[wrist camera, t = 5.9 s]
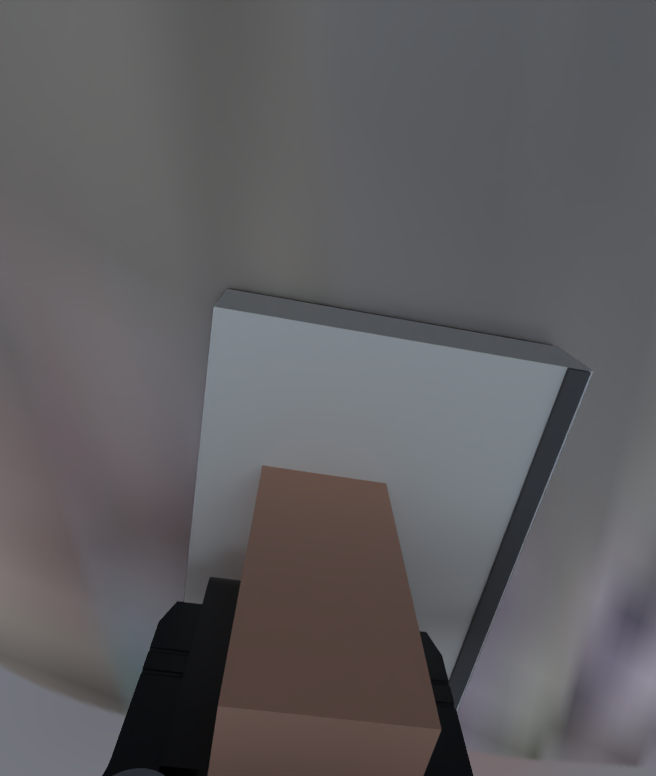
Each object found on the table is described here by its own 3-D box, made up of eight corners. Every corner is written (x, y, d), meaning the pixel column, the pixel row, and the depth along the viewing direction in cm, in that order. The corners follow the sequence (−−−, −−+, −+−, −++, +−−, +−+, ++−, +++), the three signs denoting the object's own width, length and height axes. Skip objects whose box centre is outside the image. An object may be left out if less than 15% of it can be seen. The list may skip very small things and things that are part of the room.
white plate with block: (558, 346, 11) (849, 555, 5) (419, 726, 15) (484, 1077, 9) (227, 288, 10) (105, 447, 4) (181, 701, 15) (90, 1059, 9)
